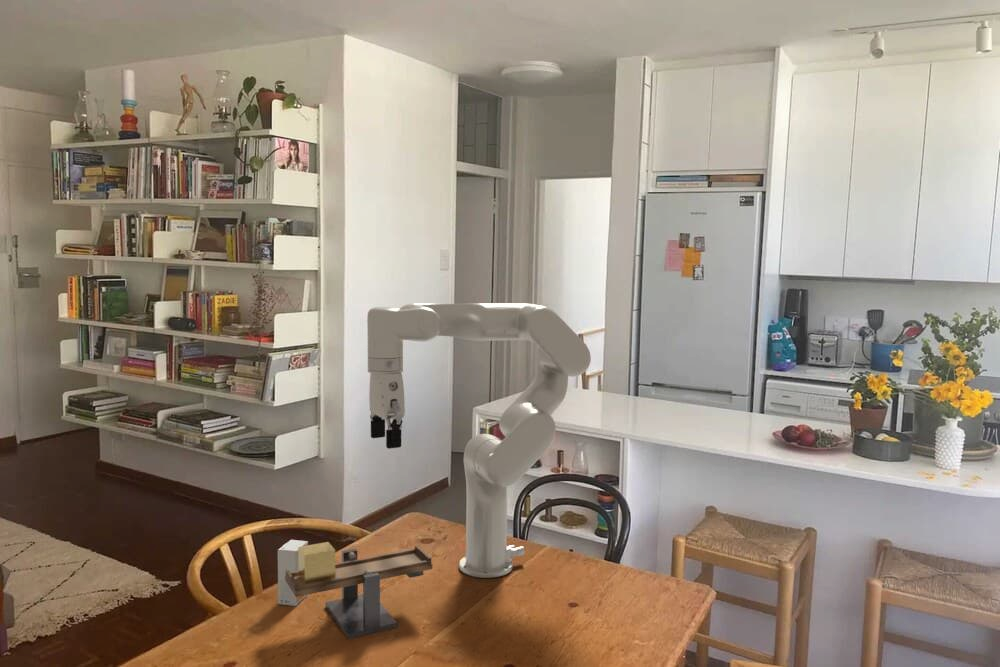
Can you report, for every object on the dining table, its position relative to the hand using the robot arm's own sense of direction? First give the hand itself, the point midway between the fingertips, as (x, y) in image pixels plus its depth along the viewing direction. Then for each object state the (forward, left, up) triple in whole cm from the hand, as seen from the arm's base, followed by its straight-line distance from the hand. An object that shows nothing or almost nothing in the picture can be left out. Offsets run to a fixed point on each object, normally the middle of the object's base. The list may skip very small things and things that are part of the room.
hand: (385, 442), depth 170 cm
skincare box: (+20, -2, -32) cm, 38 cm away
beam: (+10, +12, -25) cm, 29 cm away
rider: (+19, +12, -22) cm, 31 cm away
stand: (+10, +12, -32) cm, 36 cm away
